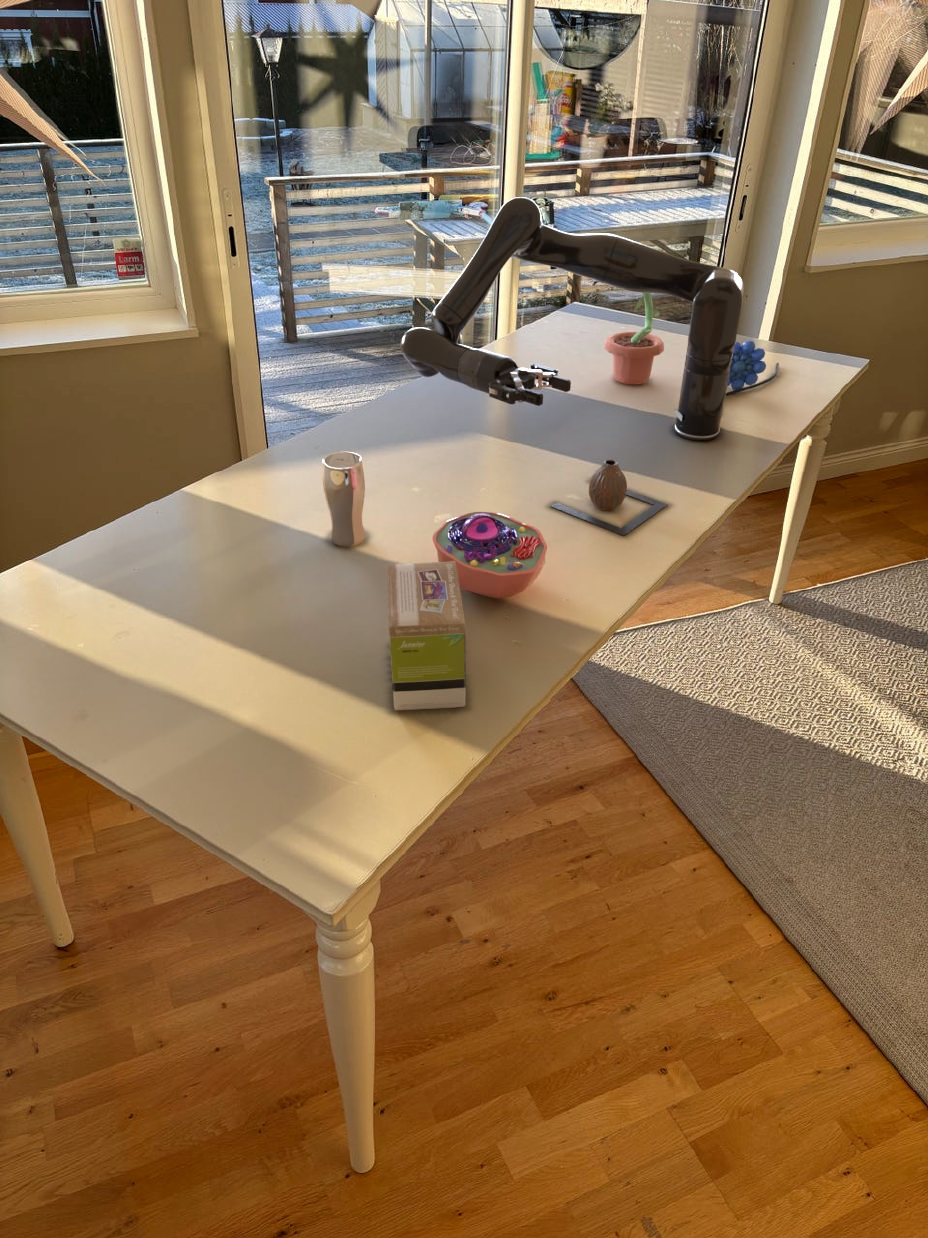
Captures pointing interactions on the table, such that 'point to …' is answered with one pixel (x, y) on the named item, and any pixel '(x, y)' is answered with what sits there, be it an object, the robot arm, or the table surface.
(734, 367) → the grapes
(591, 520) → the tape u shape
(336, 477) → the beer glass
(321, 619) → the table surface
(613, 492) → the vase
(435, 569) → the tea box
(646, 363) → the decorative flower
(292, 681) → the table surface
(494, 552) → the cell model
